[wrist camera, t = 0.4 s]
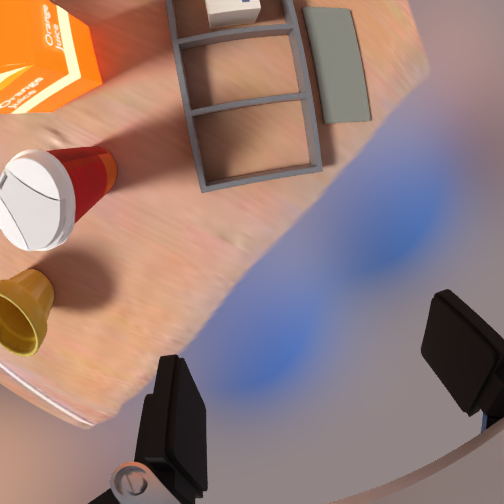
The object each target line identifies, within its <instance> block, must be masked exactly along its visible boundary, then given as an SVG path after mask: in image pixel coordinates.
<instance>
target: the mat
mask: <svg viewBox="0 0 504 504" xmlns="http://www.w3.org/2000/svg"><path fill="white" fill-rule="evenodd" d="M302 11H303V16H304V20H305V24H306V28H307V33H308V37H309V42H310V47H311V52H312V57H313V62H314V67H315V72H316V78H317V83H318V89H319V95H320V101H321V108H322V114H323V121H324V124H330V123H342V122H357V121H371V120H370V112H369V105H368V98H367V91H366V85H365V79H364V73H363V68H362V62H361V57H360V52H359V47H358V43H357V38H356V34H355V29H354V25H353V21H352V17H351V13H350V10H349V9H343V8H326V7H302Z"/></svg>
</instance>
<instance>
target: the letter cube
mask: <svg viewBox="0 0 504 504" xmlns="http://www.w3.org/2000/svg"><path fill="white" fill-rule="evenodd" d="M205 5H206V10H207V16H208V21H209V26H210V29H216V28H222V27H228V26H236V25H244V24H253V23H255V22H256V19H257V17H258V14H259V12H260V9H261V6H260V1H259V0H205Z"/></svg>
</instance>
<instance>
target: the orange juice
mask: <svg viewBox="0 0 504 504" xmlns="http://www.w3.org/2000/svg"><path fill="white" fill-rule="evenodd" d="M101 84H102V80H101V77H100V73H99V69H98V65H97V61H96V57H95V53H94V49H93V45H92V41H91V36H90V32H89V27H88V26H87V25H85V24H84V23H83V22H81V21H80V20H78V19H77V18H75V17H73V16H72V15H70V14H69V13H68V12H67V11H65V10H64V9H62V8H60V7H59V6H57V5H55V4H53V3H51V2H50V1H48V0H0V114H5V113H11V114H15V113H27V112H53V111H54V110H56V109H58V108H59V107H61V106H63V105H64V104H66V103H68V102H69V101H71V100H73V99H75V98H76V97H78V96H80V95H82V94H84V93H86V92H87V91H89V90H91V89H93V88H95V87H97V86H99V85H101Z"/></svg>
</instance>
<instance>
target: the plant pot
mask: <svg viewBox="0 0 504 504" xmlns="http://www.w3.org/2000/svg"><path fill="white" fill-rule="evenodd" d="M53 301H54V290H53V287H52V285H51V283H50V281H49V280H48V278H47V277H46V276H45V275H44V274H43V273H41V272H40V271H38V270H35V269H27V270H25V271H23V272H21V273H19V274H18V275H16V276H14V277H12V278H10V279H9V280H0V345H2V346H3V347H4V348H5V349H7V350H8V351H10V352H12V353H14V354H16V355H19V356H25V357H27V356H32V355H34V354H35V353H36V352H37V350H38V349H39V347H40V345H41V344H42V342H43V340H44V338H45V336H46V333H47V319H48V316H49V313H50V310H51V307H52V304H53Z"/></svg>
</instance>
